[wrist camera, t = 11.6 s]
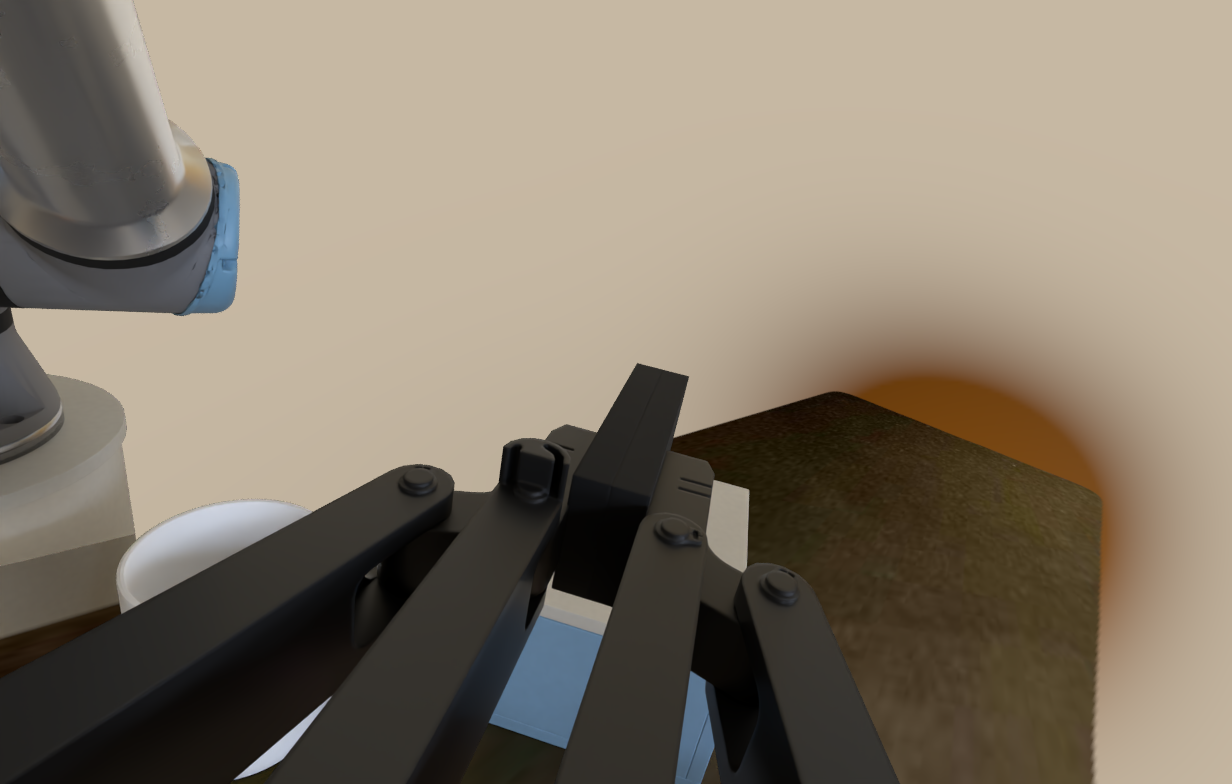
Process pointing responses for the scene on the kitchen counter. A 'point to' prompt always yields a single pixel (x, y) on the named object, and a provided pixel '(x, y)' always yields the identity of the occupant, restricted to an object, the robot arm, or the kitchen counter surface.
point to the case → (556, 685)
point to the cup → (205, 565)
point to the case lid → (723, 539)
